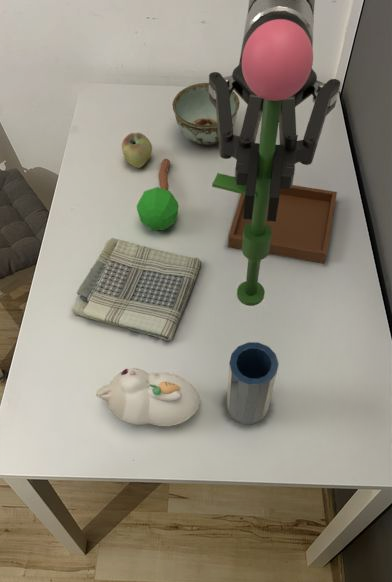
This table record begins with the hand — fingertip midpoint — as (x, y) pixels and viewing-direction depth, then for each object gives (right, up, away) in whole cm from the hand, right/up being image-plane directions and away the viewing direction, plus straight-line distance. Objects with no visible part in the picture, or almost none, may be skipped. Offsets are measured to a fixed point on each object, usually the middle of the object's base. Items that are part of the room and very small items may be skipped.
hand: (260, 208), depth 42 cm
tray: (+11, +12, +52) cm, 55 cm away
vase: (+2, -21, +34) cm, 40 cm away
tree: (-12, +18, +56) cm, 60 cm away
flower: (0, -5, +20) cm, 21 cm away
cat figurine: (-12, -21, +35) cm, 43 cm away
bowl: (-3, +34, +65) cm, 74 cm away
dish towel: (-16, -2, +46) cm, 49 cm away
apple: (-17, +28, +62) cm, 70 cm away
